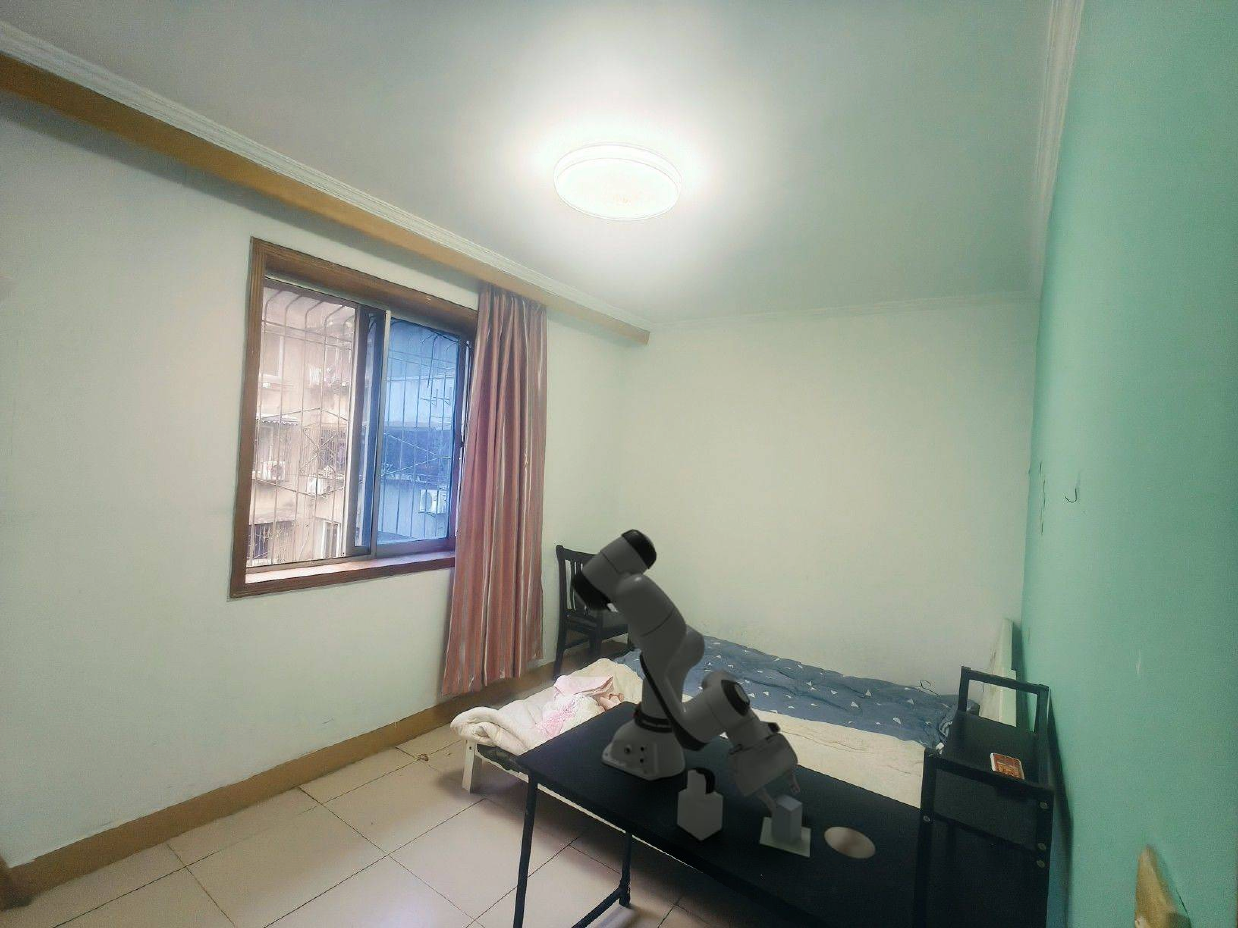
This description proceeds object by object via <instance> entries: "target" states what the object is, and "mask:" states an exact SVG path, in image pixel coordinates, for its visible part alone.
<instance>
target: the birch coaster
mask: <svg viewBox="0 0 1238 928" xmlns="http://www.w3.org/2000/svg"><path fill="white" fill-rule="evenodd" d="M824 838H825V841H826V842H827V844H828V845H829V846H830V847H831V848H832V849H834V850H836V851H837V852H839V853H840V854H843V855H845V856H847V857H850V858H855V859H868V858H870V857H873V856H874V855H875V853H876V848H875V844H874V843H873V842H872V840H871V839H869V838H868V837H867V836H866V835H864V834H862V833H861V832H858V831H857V830H854V829H851V828H849V827H848V828H847V827H842V826H836V827H835V826H834V827H830V828H828V829H827V830H826V831H825V832H824Z"/></svg>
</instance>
